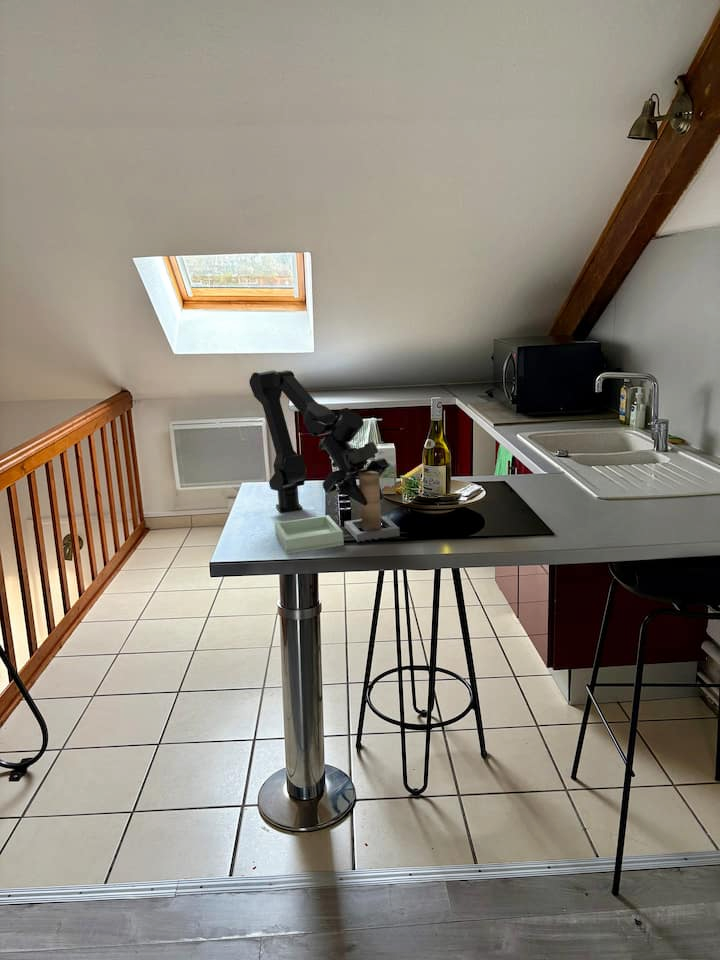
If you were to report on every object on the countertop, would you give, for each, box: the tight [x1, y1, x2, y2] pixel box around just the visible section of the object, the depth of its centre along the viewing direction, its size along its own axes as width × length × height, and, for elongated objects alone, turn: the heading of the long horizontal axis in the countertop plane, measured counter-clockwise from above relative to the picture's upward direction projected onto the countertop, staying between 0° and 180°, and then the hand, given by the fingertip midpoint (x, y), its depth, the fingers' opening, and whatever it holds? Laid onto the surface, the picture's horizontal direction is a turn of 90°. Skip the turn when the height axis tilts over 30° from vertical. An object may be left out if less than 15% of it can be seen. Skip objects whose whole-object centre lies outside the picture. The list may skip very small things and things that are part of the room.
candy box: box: [401, 463, 422, 494], centre depth 214 cm, size 16×2×8 cm, turn 155°
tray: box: [274, 514, 345, 555], centre depth 183 cm, size 14×14×4 cm
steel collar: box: [343, 515, 401, 543], centre depth 186 cm, size 11×11×2 cm
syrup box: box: [374, 443, 397, 488], centre depth 219 cm, size 6×6×14 cm
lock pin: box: [358, 471, 382, 531], centre depth 185 cm, size 5×5×14 cm
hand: (374, 502), depth 184 cm, fingers closed on lock pin, 5 cm apart
